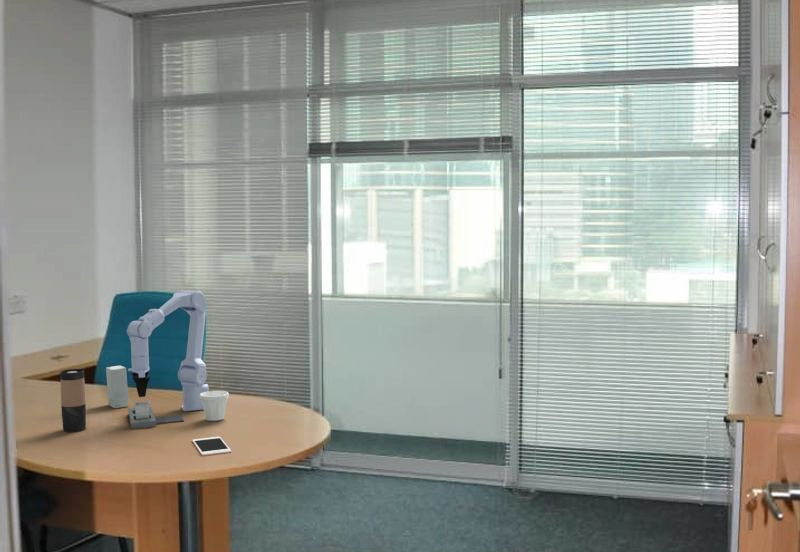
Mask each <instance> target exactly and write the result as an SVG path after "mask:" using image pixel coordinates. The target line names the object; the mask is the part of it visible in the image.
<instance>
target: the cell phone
mask: <svg viewBox="0 0 800 552" xmlns="http://www.w3.org/2000/svg"><path fill="white" fill-rule="evenodd" d="M191 442H192V444H193V445H194V447H195V448H196V449H197V451H198V453H199V454H200V455H201V457H206V456H208V457H209V456H215V455H222V454H230V453H232V450H231V448H230V447H229V446H228V445H227V443H226V442H225V441H224V440H223V438H222V437H221V436H212V437H204V438H202V437H201V438H195V439H194V438H193V439H192V441H191Z"/></svg>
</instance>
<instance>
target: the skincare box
mask: <svg viewBox="0 0 800 552" xmlns="http://www.w3.org/2000/svg"><path fill="white" fill-rule="evenodd" d="M105 373H106V375H105V376H106V386H107V387H106V388H107V389H106V390H107V401H108V406H110V407H111V408H113V409H119V408H127V407H129V406H130V404H129V391H128V378H127V375H128V374H127V368H126V367H125V366H122V365H114V366H107V367H105Z"/></svg>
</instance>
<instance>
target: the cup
mask: <svg viewBox="0 0 800 552" xmlns="http://www.w3.org/2000/svg"><path fill="white" fill-rule="evenodd" d="M229 395H230V394H229V392H228V391H227V390H226V391H225V390H209V391H207V392H203V393H201V394H200V399H201V402H202V406H203V412H204V413H203V414H204V417H205V420H206V421H207V422H221V421H222V420H223V421H224V419H225V413H226V407H227V401H228V399H229Z"/></svg>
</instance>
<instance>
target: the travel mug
mask: <svg viewBox="0 0 800 552" xmlns="http://www.w3.org/2000/svg"><path fill="white" fill-rule="evenodd" d="M59 374H60V375H59V376H60V380H59V381H60V407H61V420H62V429H63V432H65V433H78V432H82V431H85V430H86V429H87V427H86V425H87V424H86V423H87V420H86V419H87V418H86V416H87V413H86V412H87V409H86V408H87V407H86V403H87V402H86V384H85V383H86V382H85V370H84V369H82V368H72V369H64V370H61V371H60V372H59Z"/></svg>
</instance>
